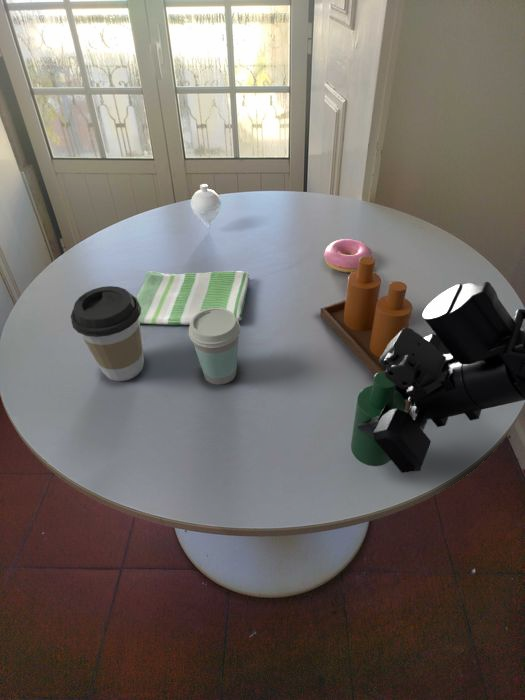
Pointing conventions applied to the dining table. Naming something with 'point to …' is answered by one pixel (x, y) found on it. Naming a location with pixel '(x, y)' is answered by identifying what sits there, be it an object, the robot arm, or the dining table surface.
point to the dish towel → (190, 295)
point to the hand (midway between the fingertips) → (368, 412)
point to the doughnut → (346, 254)
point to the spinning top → (206, 204)
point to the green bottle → (369, 408)
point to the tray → (353, 337)
